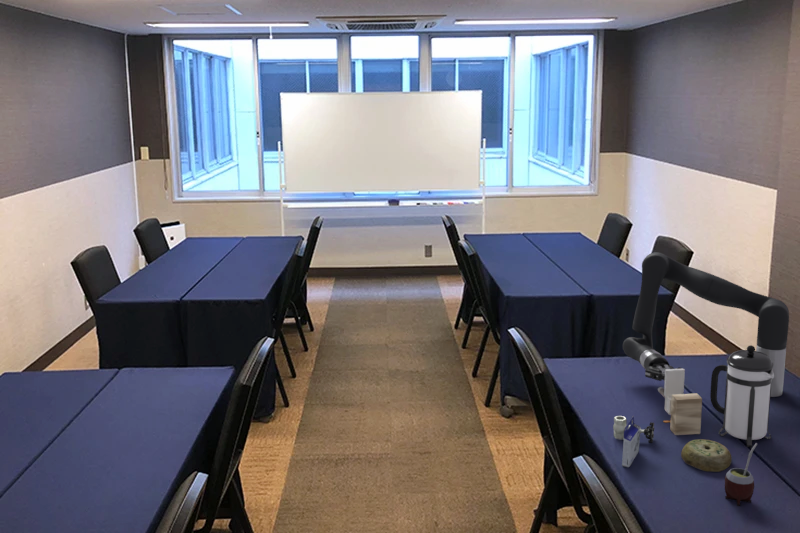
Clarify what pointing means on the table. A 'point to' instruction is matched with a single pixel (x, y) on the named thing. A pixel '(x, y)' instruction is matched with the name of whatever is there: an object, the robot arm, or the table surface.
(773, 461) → the table surface
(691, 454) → the weight
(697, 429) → the rod stand
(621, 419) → the valve
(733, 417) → the coffee press
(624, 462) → the ink box
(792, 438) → the table surface
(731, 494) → the mate gourd
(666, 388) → the white upright panel
